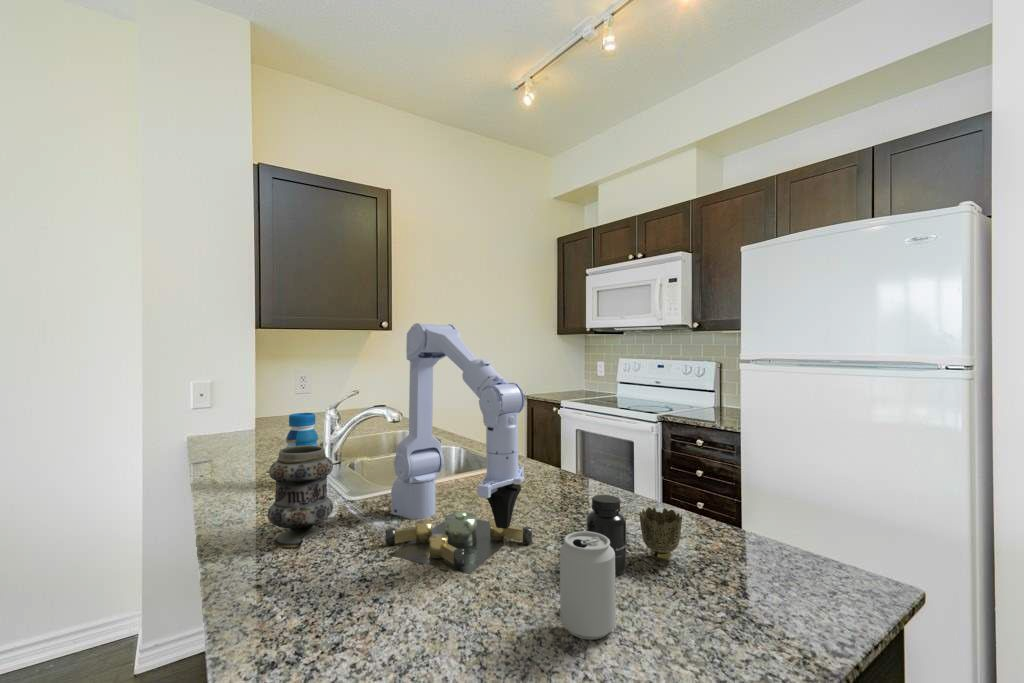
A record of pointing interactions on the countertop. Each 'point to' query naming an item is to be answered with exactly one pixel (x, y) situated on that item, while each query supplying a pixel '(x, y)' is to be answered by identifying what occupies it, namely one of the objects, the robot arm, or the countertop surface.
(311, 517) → the apothecary jar
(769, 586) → the countertop surface
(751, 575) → the countertop surface
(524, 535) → the lever right
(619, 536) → the supplement bottle
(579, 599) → the can
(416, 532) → the lever left
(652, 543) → the cup
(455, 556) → the lever front
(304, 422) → the beverage bottle
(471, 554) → the plate
